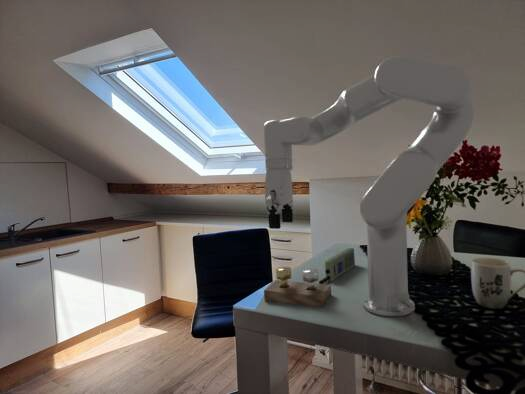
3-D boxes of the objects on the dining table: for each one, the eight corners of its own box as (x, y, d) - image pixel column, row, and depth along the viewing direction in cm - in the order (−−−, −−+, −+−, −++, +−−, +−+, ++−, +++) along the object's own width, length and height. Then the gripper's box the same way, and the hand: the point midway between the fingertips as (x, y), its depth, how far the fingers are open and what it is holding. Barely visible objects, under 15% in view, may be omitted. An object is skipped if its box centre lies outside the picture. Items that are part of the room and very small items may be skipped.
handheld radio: (356, 266, 132) (326, 287, 112) (348, 265, 134) (316, 286, 114) (355, 247, 132) (324, 266, 112) (346, 247, 134) (314, 265, 114)
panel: (331, 294, 105) (330, 284, 105) (323, 307, 97) (322, 296, 97) (276, 289, 112) (275, 280, 112) (264, 300, 104) (263, 290, 104)
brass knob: (294, 288, 105) (293, 269, 104) (279, 291, 104) (278, 272, 103) (289, 284, 109) (288, 265, 108) (275, 286, 108) (274, 267, 107)
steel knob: (321, 291, 101) (320, 271, 101) (306, 293, 100) (305, 273, 100) (315, 286, 106) (314, 267, 105) (301, 288, 105) (300, 269, 104)
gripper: (278, 164, 113) (280, 219, 114) (253, 166, 97) (256, 230, 99) (301, 163, 109) (303, 220, 111) (279, 165, 94) (282, 231, 96)
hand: (281, 225), depth 105 cm, fingers open, 9 cm apart
